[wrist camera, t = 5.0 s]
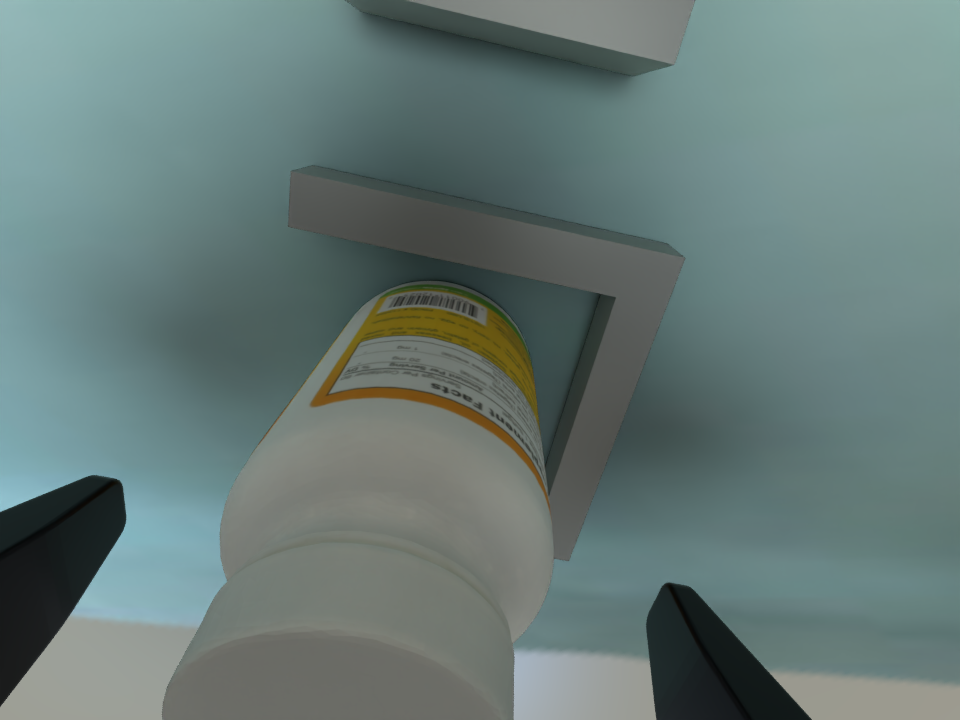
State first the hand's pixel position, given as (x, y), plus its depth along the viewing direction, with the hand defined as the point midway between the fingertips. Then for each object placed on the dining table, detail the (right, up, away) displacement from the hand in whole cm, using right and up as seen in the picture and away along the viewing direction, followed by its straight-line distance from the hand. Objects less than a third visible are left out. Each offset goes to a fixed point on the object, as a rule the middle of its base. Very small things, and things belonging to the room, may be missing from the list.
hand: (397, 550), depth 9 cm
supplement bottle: (0, +3, +6) cm, 7 cm away
